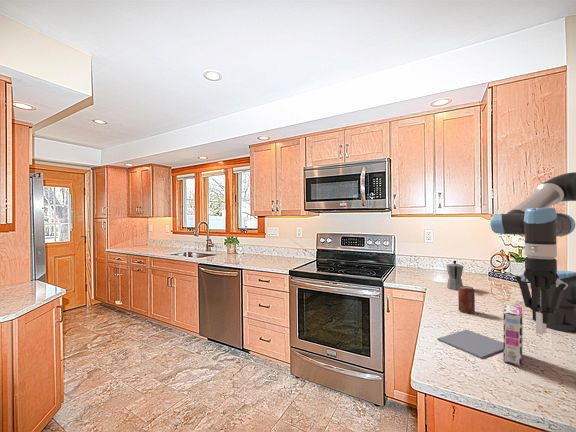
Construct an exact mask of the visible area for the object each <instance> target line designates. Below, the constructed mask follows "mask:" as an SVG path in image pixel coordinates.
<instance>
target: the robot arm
mask: <svg viewBox="0 0 576 432" xmlns="http://www.w3.org/2000/svg"><path fill="white" fill-rule="evenodd" d="M561 202H576V172H567V173H562V174H560V175H557V176H554V177H551V178H549V179H548V180H545V181H544V182H542V183H541V184H539V185H538V186H537V187H536V188H535V189H534V192H533V193H532V194H531V195H528V197H526V198H525V199H524V200H522V201H521V202H519V203H518V204H517V205H515V207H513V208H512V209H510V210H509V211H508V212H507V213H497V214H494V215H492V216H491V218H490V223H489V225H490V229H491V230H492V232H493V233H494V234H498V235H499V234H500V235H511V236H512V235H514V236H515V235H516V236H517V235H518V236H520V235H521V236H524V255H525V257H524V268H525V269H524V271H523V274H521V275H516V276H515V277H514V278H515V280H516V282H517V283H518V285H519V289H520V292H521V295H522V296H521V297H522V299H523V303H524V306H525V307H526V308H529V309H530V310H531V311H532V320H533V321H535V333H536V334H539V335H544V334H547V328H548V329H551V330H557V331H561V332H567V333H568V332H569V333H576V271H570V270H558V261H557V259H556V258H557V257H558V250H557V249H558V248H557V243H558V241H557V239H558V238H557V237H560V238H562V237H565V236H568V235H570V234H572V233H573V232H574V230H575V229H576V222H575V219H574V218H573V217H572V216H571V215H568V214H566V213H562V212H557V210H556V208H554V207H552V206H554V205H558V204H560V203H561ZM527 281H528V282H527ZM528 283H529V284H530V288H529V285H528ZM530 289H531V291H530Z"/></svg>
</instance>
